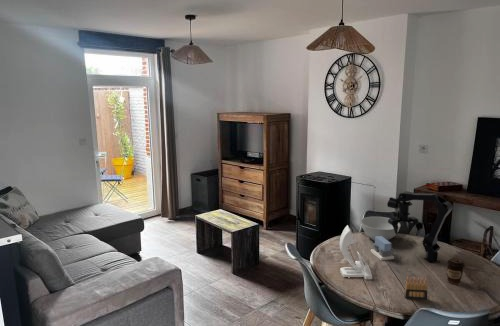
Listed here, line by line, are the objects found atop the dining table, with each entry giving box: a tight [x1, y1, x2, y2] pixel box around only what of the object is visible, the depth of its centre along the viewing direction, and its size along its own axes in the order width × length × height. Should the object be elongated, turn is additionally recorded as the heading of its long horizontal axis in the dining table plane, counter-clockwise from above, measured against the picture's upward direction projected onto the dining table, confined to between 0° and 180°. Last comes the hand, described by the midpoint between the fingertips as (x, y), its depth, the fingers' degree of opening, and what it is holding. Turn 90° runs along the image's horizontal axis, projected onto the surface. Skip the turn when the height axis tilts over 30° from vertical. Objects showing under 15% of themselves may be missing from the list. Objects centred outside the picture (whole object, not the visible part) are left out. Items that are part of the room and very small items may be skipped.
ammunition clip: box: [403, 275, 429, 301], centre depth 186 cm, size 11×2×12 cm, turn 81°
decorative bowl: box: [360, 215, 401, 242], centre depth 261 cm, size 27×27×12 cm
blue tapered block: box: [374, 236, 392, 252], centre depth 234 cm, size 12×4×5 cm, turn 10°
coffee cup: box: [446, 257, 466, 285], centre depth 200 cm, size 9×8×13 cm
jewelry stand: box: [339, 224, 373, 280], centre depth 216 cm, size 25×16×25 cm, turn 2°
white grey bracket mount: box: [370, 242, 395, 261], centre depth 235 cm, size 13×9×6 cm
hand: (402, 233), depth 240 cm, fingers open, 9 cm apart
